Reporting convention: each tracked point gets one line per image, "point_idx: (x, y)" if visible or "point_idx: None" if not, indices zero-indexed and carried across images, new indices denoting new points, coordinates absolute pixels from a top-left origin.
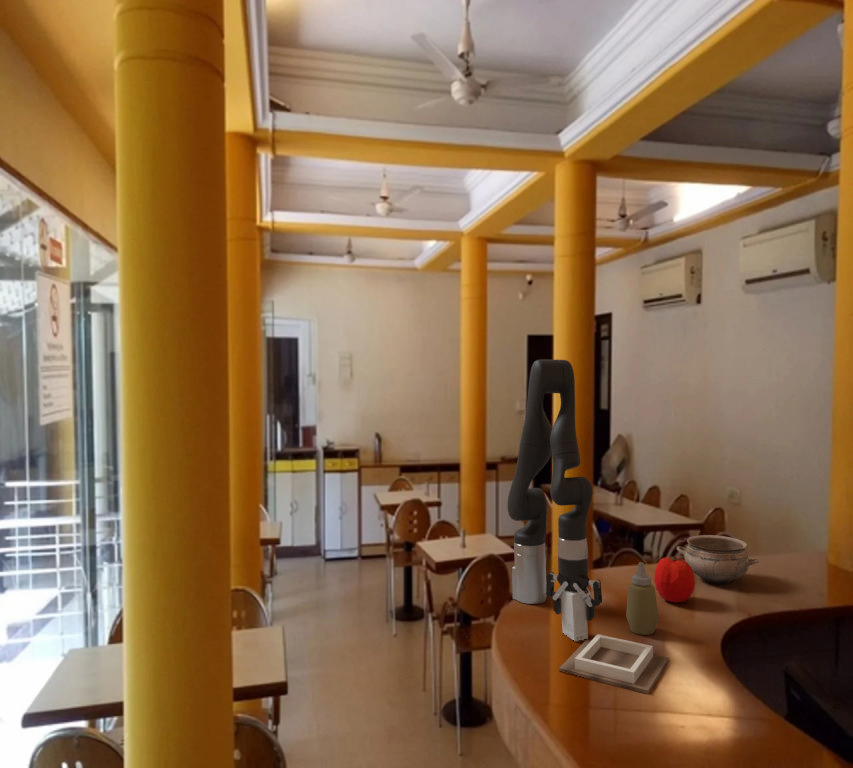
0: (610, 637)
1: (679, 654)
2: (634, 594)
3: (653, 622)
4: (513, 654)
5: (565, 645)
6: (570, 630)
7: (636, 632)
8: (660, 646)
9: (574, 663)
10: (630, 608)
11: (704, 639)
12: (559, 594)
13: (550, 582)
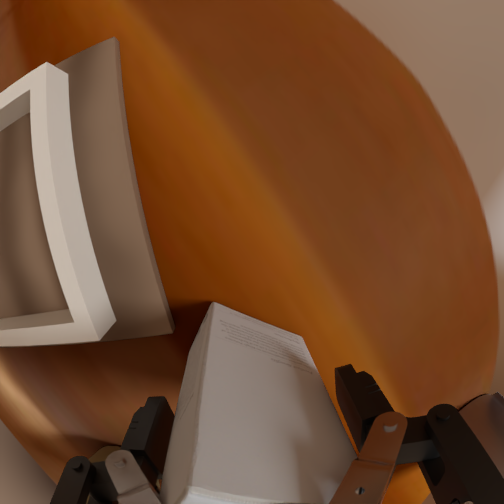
0: (53, 339)
1: (4, 385)
2: None
3: None
4: (338, 38)
5: (224, 245)
6: (240, 328)
7: (119, 448)
8: (44, 407)
9: (85, 104)
10: None
11: (42, 458)
12: (359, 461)
13: (470, 491)
